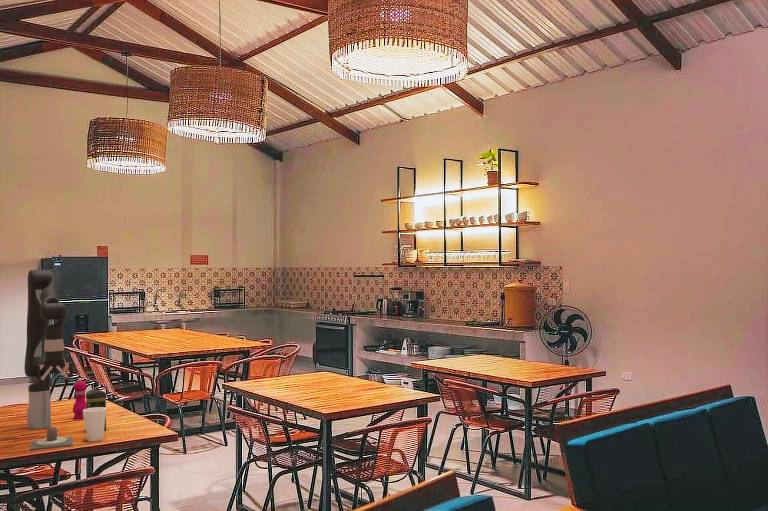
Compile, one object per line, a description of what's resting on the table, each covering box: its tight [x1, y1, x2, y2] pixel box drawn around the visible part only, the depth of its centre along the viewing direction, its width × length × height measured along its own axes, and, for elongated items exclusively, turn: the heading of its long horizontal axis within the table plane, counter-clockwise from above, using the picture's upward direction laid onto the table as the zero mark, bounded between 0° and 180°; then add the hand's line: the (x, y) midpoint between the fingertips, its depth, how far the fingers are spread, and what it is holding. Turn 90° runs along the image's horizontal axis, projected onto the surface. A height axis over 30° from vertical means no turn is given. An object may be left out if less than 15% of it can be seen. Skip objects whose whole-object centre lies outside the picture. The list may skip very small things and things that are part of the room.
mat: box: [29, 436, 74, 451], centre depth 311 cm, size 16×16×1 cm
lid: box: [36, 426, 67, 446], centre depth 311 cm, size 12×12×6 cm
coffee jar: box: [85, 388, 107, 431], centre depth 335 cm, size 10×8×19 cm
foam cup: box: [83, 407, 107, 442], centre depth 318 cm, size 10×9×13 cm
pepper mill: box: [72, 377, 88, 421], centre depth 363 cm, size 7×7×20 cm
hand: (54, 387), depth 313 cm, fingers open, 8 cm apart
